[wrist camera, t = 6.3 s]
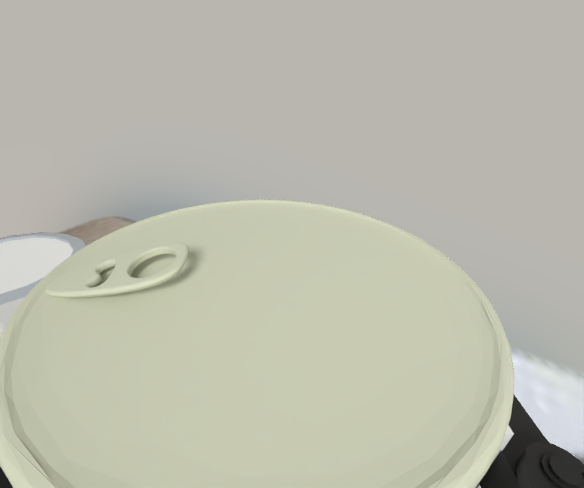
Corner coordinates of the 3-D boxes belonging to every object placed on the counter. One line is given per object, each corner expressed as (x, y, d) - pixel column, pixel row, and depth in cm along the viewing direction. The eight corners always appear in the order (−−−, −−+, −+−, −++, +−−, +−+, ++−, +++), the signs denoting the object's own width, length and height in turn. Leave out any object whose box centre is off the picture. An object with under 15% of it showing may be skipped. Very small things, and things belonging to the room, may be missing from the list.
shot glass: (18, 329, 20) (-32, 233, 17) (131, 319, 21) (106, 227, 18) (-69, 436, 14) (-173, 321, 11) (95, 413, 15) (48, 304, 12)
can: (167, 416, 15) (108, 184, 10) (345, 397, 17) (387, 183, 11) (90, 782, 8) (-500, 715, 2) (438, 690, 9) (767, 477, 3)
